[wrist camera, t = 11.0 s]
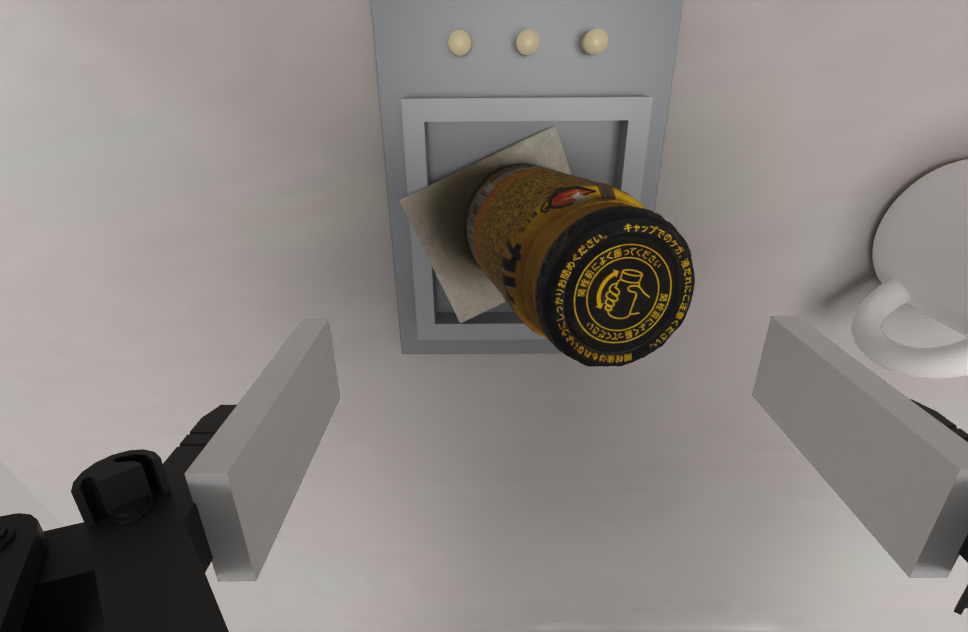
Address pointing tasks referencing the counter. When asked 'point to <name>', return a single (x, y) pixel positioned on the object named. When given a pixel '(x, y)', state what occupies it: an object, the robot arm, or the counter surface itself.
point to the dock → (513, 120)
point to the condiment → (555, 253)
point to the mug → (921, 274)
